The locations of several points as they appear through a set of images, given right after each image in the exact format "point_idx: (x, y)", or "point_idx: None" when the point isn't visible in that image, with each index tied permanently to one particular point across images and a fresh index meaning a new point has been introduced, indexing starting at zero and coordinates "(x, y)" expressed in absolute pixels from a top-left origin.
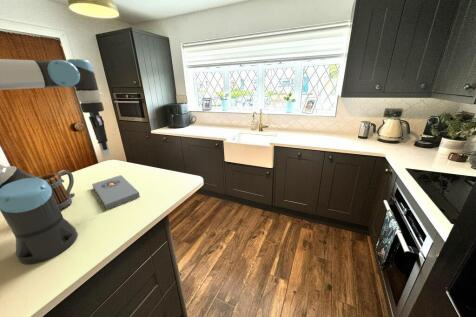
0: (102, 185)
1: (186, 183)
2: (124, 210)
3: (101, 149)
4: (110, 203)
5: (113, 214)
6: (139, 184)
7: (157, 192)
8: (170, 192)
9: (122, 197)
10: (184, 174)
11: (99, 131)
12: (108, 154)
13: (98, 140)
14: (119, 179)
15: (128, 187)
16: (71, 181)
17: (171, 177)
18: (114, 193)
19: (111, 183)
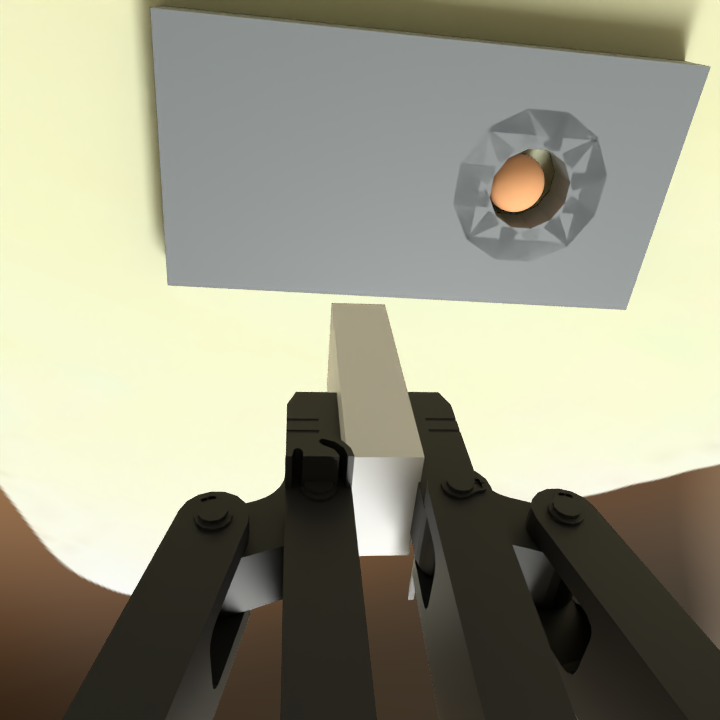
0: (576, 127)
1: (118, 529)
2: (42, 105)
3: (338, 377)
4: (154, 53)
5: (38, 17)
6: None
7: (141, 370)
8: (72, 422)
9: (177, 164)
10: None
11: None
12: (329, 380)
13: (432, 500)
14: (549, 270)
15: (323, 263)
16: None
17: None
18: (310, 144)
19: (516, 194)
